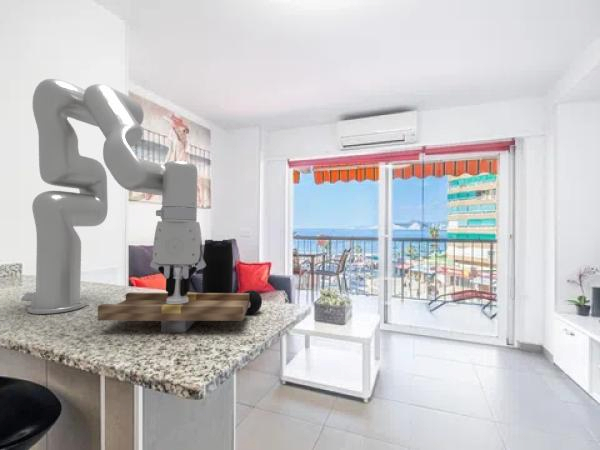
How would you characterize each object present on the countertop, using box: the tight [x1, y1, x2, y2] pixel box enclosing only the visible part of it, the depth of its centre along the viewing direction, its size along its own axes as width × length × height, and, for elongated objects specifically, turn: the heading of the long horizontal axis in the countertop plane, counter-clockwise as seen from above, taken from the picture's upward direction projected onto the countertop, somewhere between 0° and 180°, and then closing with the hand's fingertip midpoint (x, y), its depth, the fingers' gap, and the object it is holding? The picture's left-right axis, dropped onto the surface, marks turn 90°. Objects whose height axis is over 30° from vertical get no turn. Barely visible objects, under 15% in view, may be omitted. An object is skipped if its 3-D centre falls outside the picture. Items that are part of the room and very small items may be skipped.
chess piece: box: [166, 265, 189, 304], centre depth 72 cm, size 5×5×10 cm
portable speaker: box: [201, 239, 234, 293], centre depth 88 cm, size 8×9×19 cm
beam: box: [97, 292, 249, 333], centre depth 72 cm, size 30×13×6 cm, turn 93°
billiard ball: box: [243, 289, 263, 314], centre depth 82 cm, size 6×6×6 cm
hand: (177, 294), depth 72 cm, fingers closed on chess piece
